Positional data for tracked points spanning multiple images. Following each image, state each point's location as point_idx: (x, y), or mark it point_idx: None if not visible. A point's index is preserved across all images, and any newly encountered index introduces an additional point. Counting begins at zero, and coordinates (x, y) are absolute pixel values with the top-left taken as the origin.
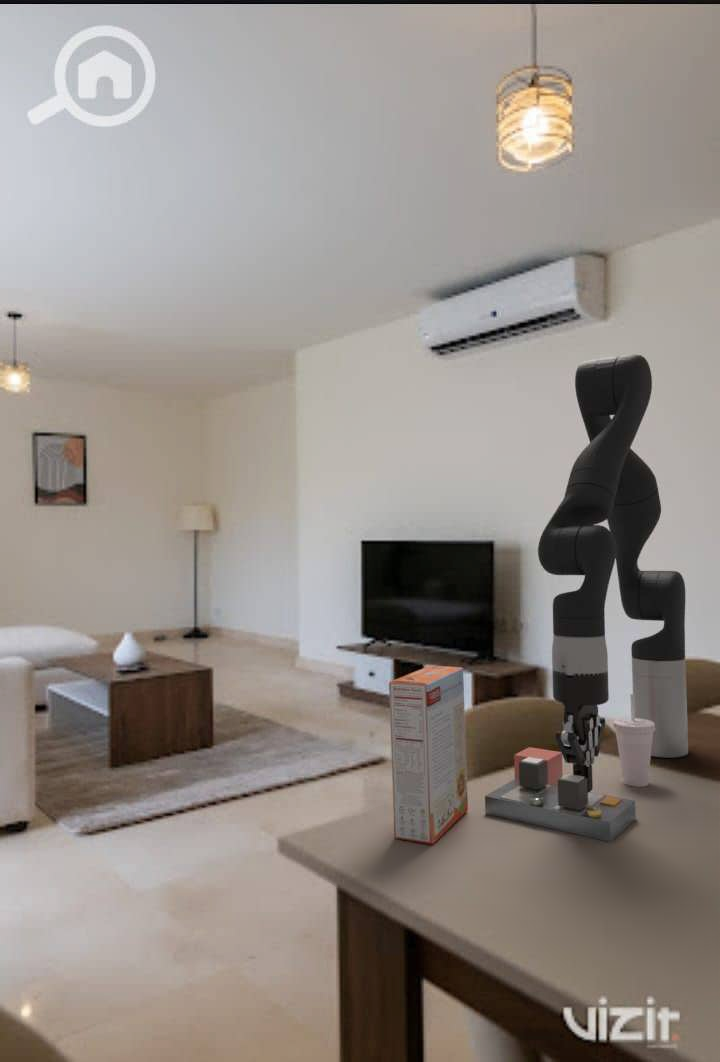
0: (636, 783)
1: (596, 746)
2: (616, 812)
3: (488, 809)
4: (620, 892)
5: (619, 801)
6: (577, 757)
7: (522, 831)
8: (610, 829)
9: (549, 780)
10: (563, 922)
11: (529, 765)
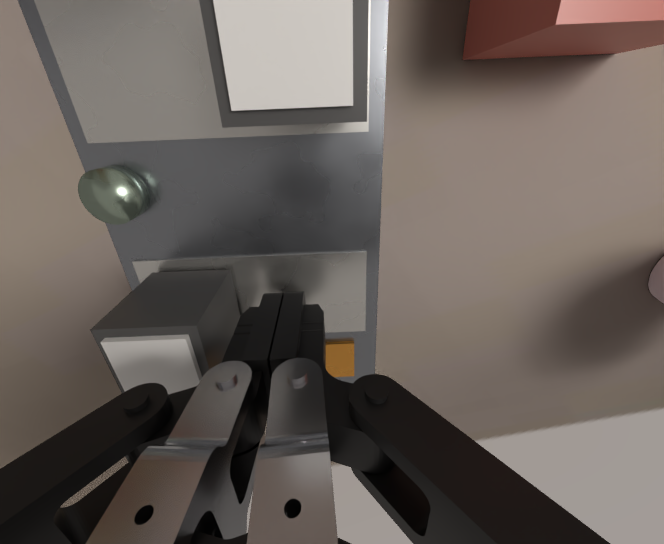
0: (656, 288)
1: (376, 495)
2: None
3: None
4: (16, 437)
5: (333, 376)
6: (92, 496)
7: (58, 175)
8: None
9: (504, 49)
10: None
11: (213, 50)
